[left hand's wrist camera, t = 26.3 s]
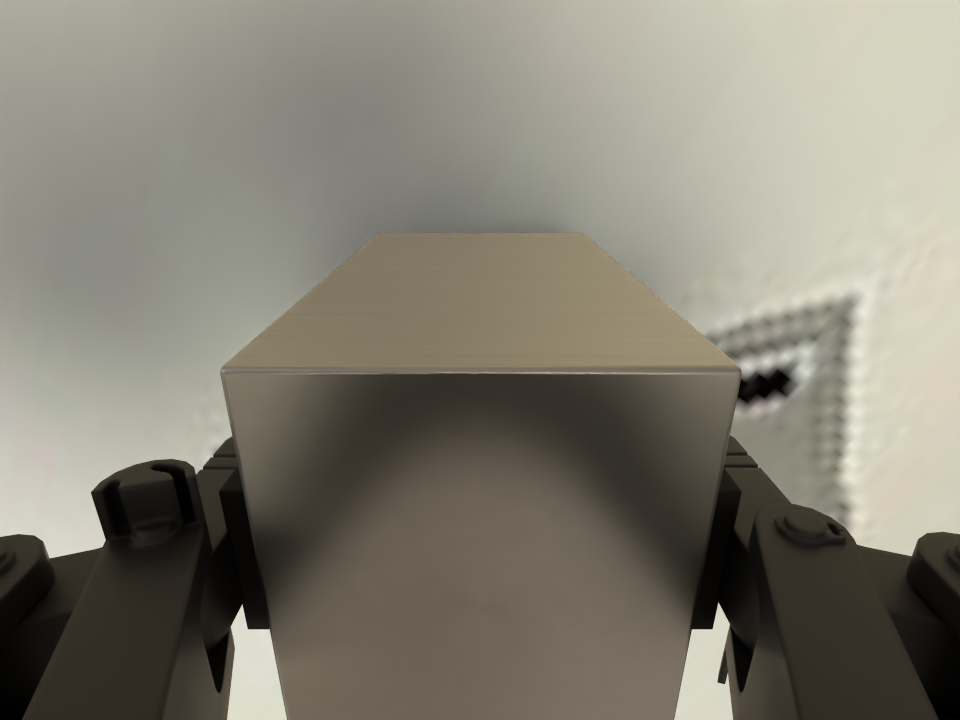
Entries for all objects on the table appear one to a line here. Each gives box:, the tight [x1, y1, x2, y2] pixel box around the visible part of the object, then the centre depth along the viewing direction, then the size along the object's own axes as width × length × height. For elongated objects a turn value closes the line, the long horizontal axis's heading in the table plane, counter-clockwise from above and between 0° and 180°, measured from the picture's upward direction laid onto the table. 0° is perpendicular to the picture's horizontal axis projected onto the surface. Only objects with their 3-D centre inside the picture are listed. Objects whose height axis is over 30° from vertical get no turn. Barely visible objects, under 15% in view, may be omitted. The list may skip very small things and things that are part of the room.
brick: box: [220, 233, 742, 720], centre depth 13 cm, size 6×7×10 cm
